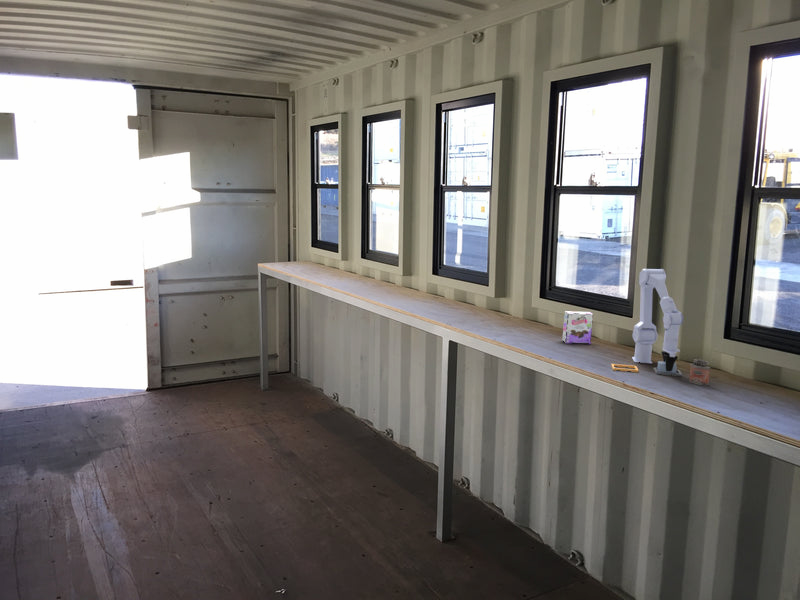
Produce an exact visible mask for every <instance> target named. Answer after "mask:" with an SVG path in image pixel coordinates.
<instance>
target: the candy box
mask: <svg viewBox="0 0 800 600" xmlns="http://www.w3.org/2000/svg"><path fill="white" fill-rule="evenodd" d="M563 318H564V319H563V328H562V338H561V341H562V340H563V341H564V342H565V343H564V342H563V341H562V342H563V343H564V344H572V343H589V344H588V345H591V344H592V332H593V331H592V330H593V319H594V314H593V313H592V312H591V311H567V310H565V311H564V316H563Z"/></svg>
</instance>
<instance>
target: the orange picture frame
mask: <svg viewBox="0 0 800 600" xmlns="http://www.w3.org/2000/svg"><path fill="white" fill-rule="evenodd" d="M610 366H611V368H612V370H613V371H616V370H620V372H627V371H631V372H630V373H639V369H638V367H637V366H636V365H631V364H630V365H628V364H618V363H611V365H610ZM614 366H617V367H614ZM625 367H628V368H625ZM634 368H635V369H634Z"/></svg>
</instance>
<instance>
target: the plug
mask: <svg viewBox="0 0 800 600" xmlns="http://www.w3.org/2000/svg"><path fill="white" fill-rule="evenodd" d="M656 368H657V371H658V372H667V373H677V372H676V370H677V368H678V367H677V361H675V363H674V366H673V369H672V371H666V362H663V360H660V361H659V360H658V361H657V367H656Z"/></svg>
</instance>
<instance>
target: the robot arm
mask: <svg viewBox="0 0 800 600" xmlns="http://www.w3.org/2000/svg"><path fill="white" fill-rule="evenodd" d="M638 279H639V280H638V281H639V283H638V285H639V286H640V298H639V299H640V301H639V302H640V304H639V305H640V306H639V310H640V311H639V322H637V323H636V324H635V325H634V326H633V331H632V340H633V341H634V343H635V347H634V356H632V360H633V362H634V363H639V362H640V364H641V363H642V364H651V365H652V364H653V361H652V351H653V350H652V349H653V345H654V344H655V342H656V341H657V339H658V332H657V326H656V325H655V324H654V323H653V320H652V319H653V291H654V289H655V290H656V292H657V294H658V296H659V298H660V300H659V304H660V305H659V306H660V307H661V310H662V313H663V317H662V321H663V328H664V335H663V345H662V349H661V350H662V351H661V352H660V353H661V355H662V362H666V371H672V369H673V366H674V363H675V362H677V360H678V358H679V356H677V355H676V354H677V352H678V353H680V352H681V350H680V349H678V344H679V335H680V326H681V325H682V324H683V323H684V316H683V313H682V312H681V311H680V310H678V309H677V306H676V303H675V301H674V299H673V298H672V297H670V296H669V292H668V288H667V285H666V280H667V275H666V271H665V269H663V268H660V269H659V268H658V269H657V268H642V270H641V271H640V272H639V278H638Z"/></svg>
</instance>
